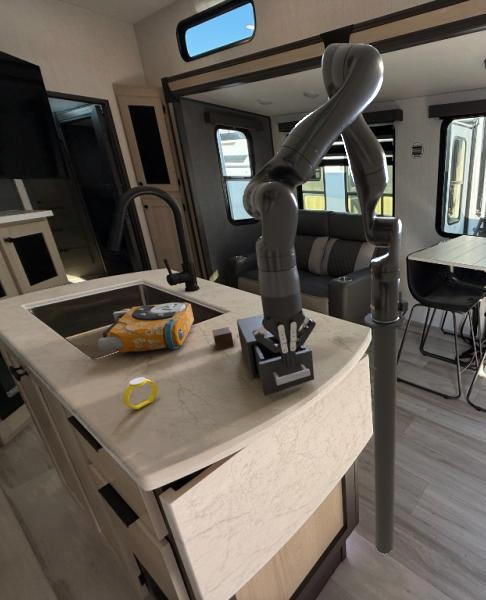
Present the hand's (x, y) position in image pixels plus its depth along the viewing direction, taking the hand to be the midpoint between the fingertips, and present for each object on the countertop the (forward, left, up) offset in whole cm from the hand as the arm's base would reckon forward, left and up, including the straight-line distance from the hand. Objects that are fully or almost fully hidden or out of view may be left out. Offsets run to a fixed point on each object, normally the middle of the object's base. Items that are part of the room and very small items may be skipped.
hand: (289, 365), depth 68 cm
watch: (+28, -13, -8) cm, 32 cm away
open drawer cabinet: (0, -7, -7) cm, 9 cm away
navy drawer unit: (0, -19, -8) cm, 21 cm away
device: (+28, -51, -8) cm, 59 cm away
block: (+10, -33, -8) cm, 36 cm away
